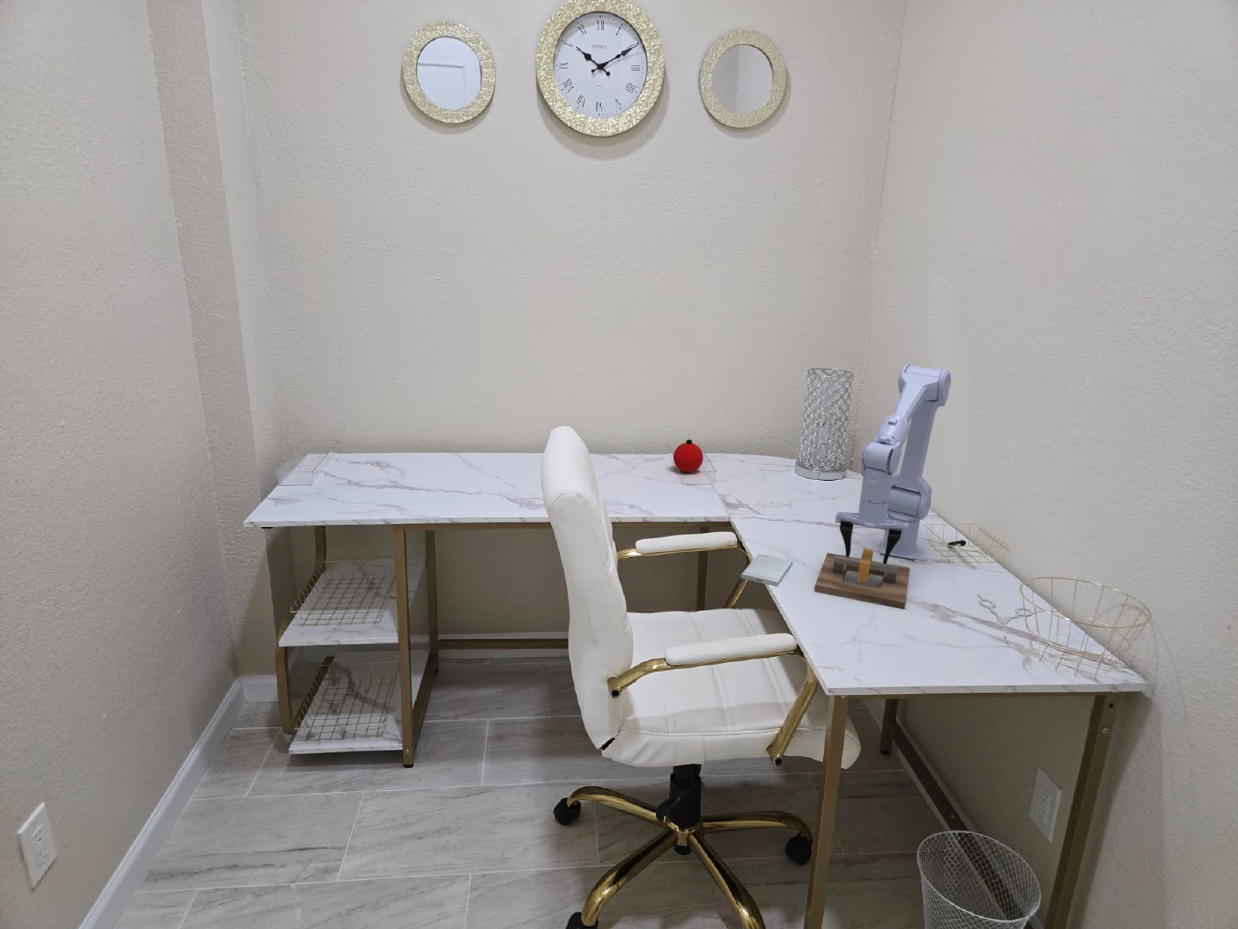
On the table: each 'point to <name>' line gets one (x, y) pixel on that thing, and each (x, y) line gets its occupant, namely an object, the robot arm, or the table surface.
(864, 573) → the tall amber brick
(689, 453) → the ornament
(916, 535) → the robot arm
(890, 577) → the hook bar
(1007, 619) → the scissors
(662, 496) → the table surface
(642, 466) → the table surface
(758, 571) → the hard drive
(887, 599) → the brown wooden frame
